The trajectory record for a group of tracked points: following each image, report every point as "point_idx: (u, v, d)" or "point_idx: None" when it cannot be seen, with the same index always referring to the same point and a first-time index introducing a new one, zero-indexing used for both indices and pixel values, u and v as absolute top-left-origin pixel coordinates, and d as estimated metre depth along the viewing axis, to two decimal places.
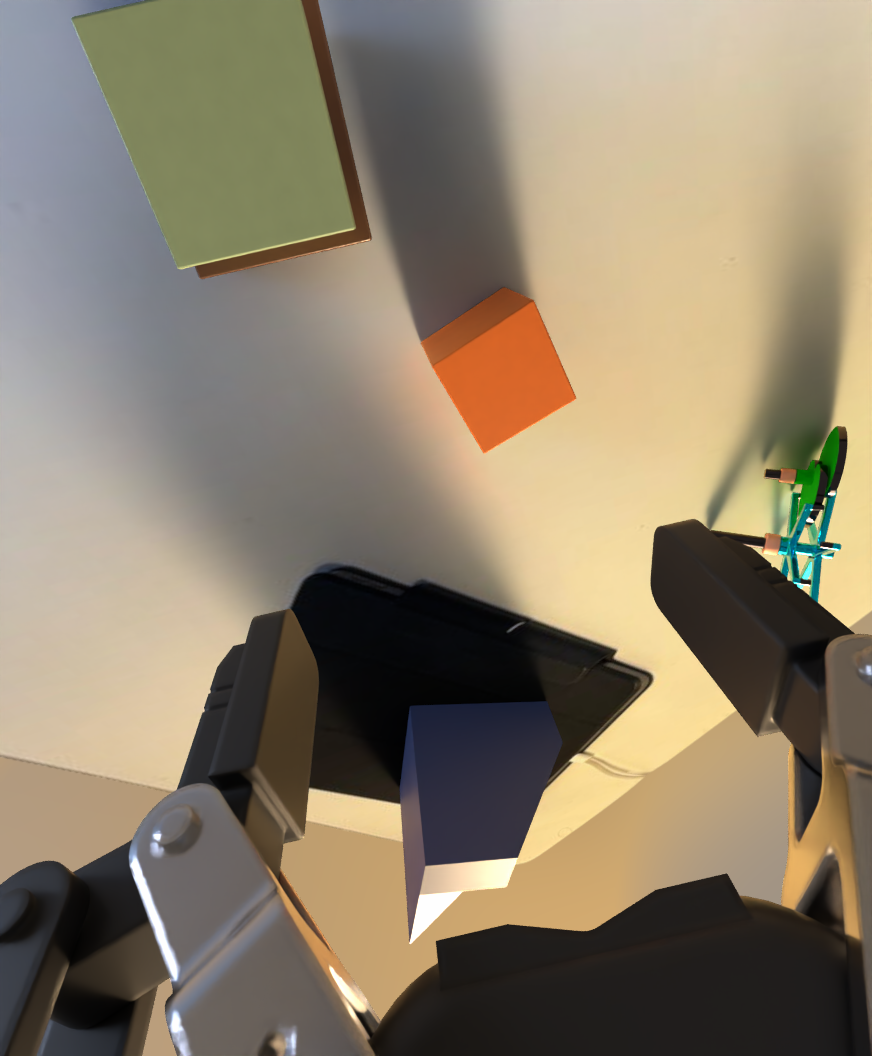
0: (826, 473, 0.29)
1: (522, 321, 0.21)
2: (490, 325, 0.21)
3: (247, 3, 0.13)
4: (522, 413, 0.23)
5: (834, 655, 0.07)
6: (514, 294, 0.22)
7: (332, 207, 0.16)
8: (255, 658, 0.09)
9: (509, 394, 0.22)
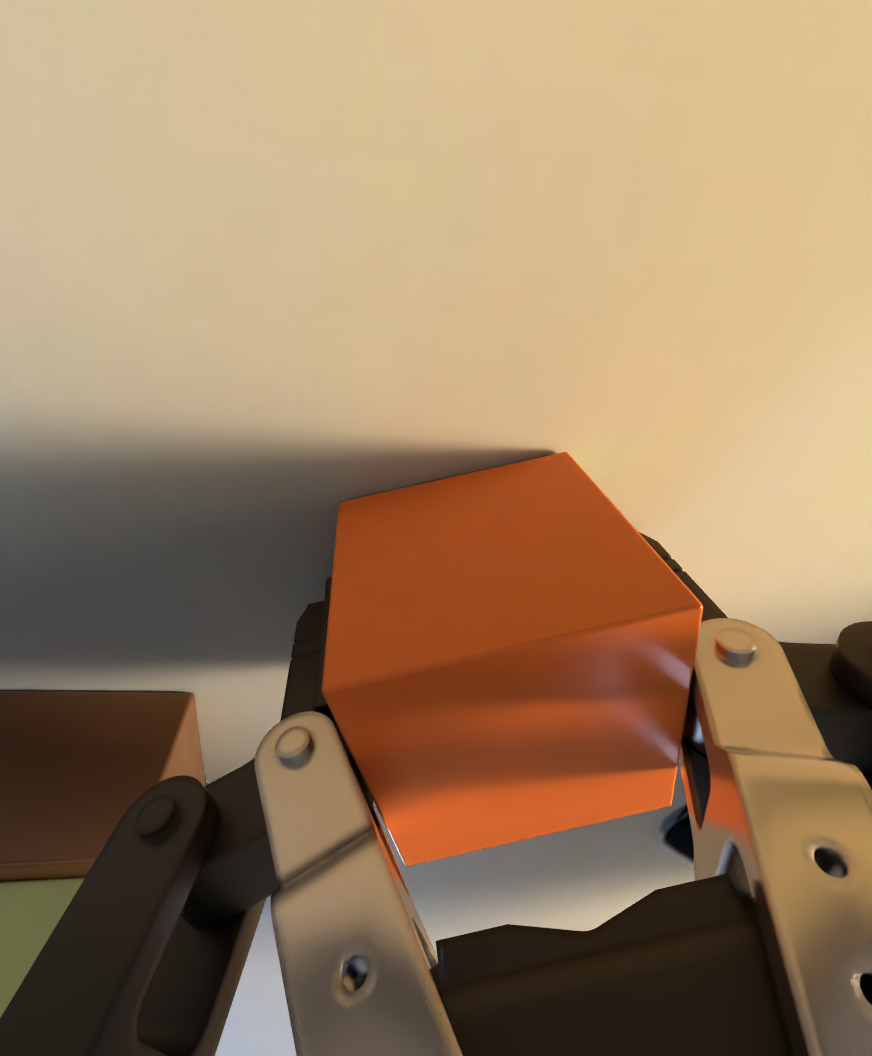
0: None
1: (375, 720, 0.07)
2: (361, 762, 0.07)
3: None
4: (635, 736, 0.07)
5: None
6: None
7: None
8: None
9: (562, 758, 0.08)
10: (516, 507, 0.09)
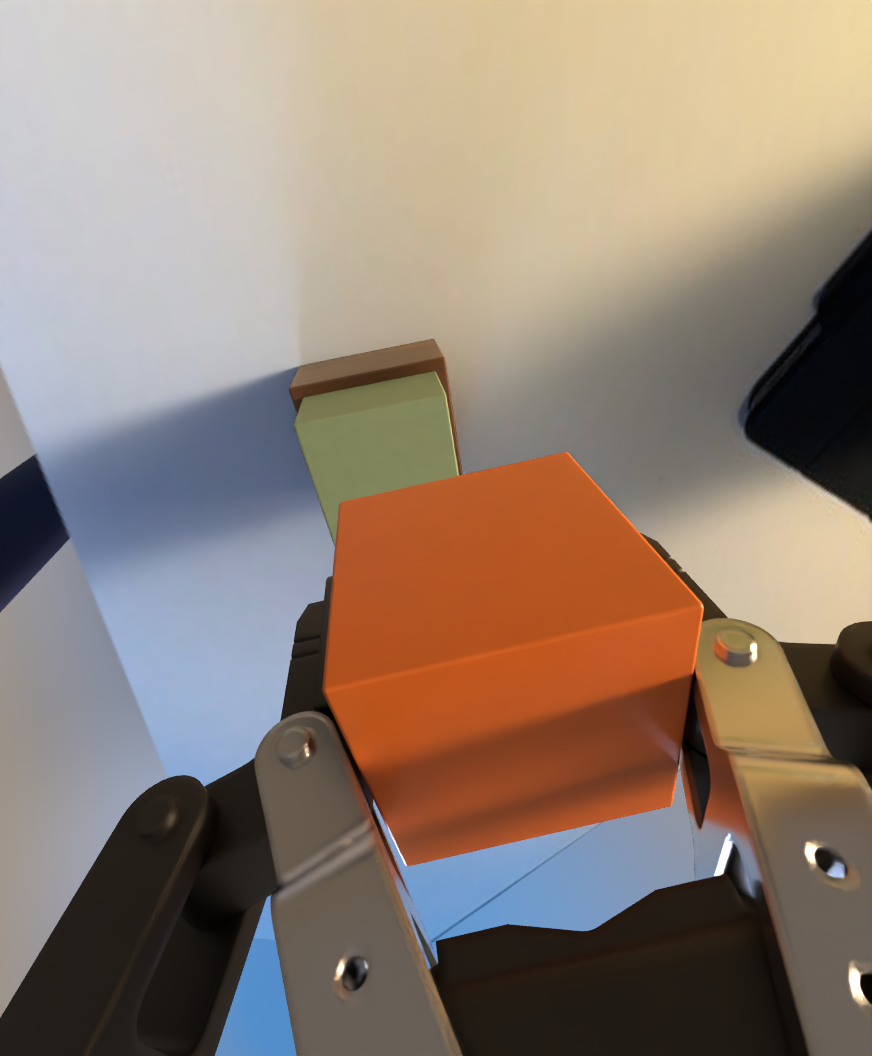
0: None
1: (376, 721, 0.07)
2: (361, 763, 0.07)
3: (315, 455, 0.19)
4: (635, 737, 0.07)
5: None
6: None
7: (430, 411, 0.19)
8: None
9: (563, 758, 0.08)
10: (516, 507, 0.09)
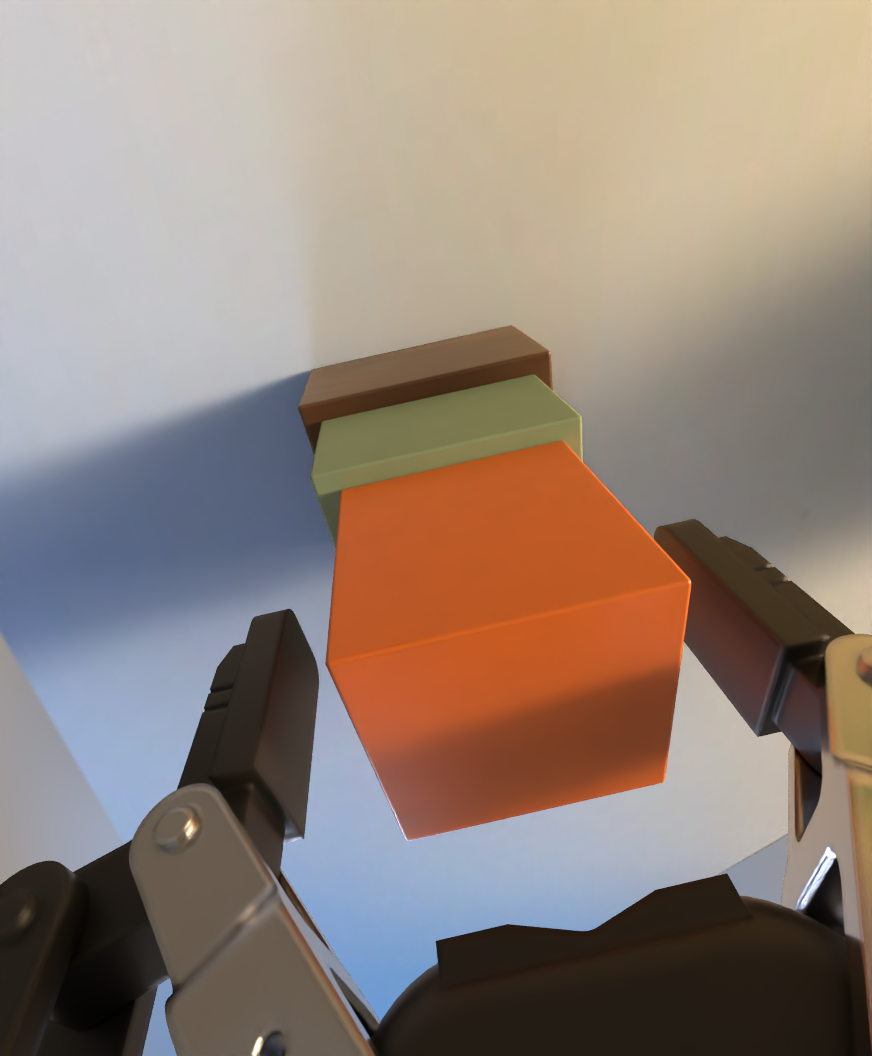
0: None
1: (377, 693, 0.07)
2: (363, 736, 0.08)
3: None
4: (627, 711, 0.08)
5: (834, 655, 0.07)
6: None
7: None
8: (255, 658, 0.09)
9: (558, 732, 0.08)
10: (513, 492, 0.09)
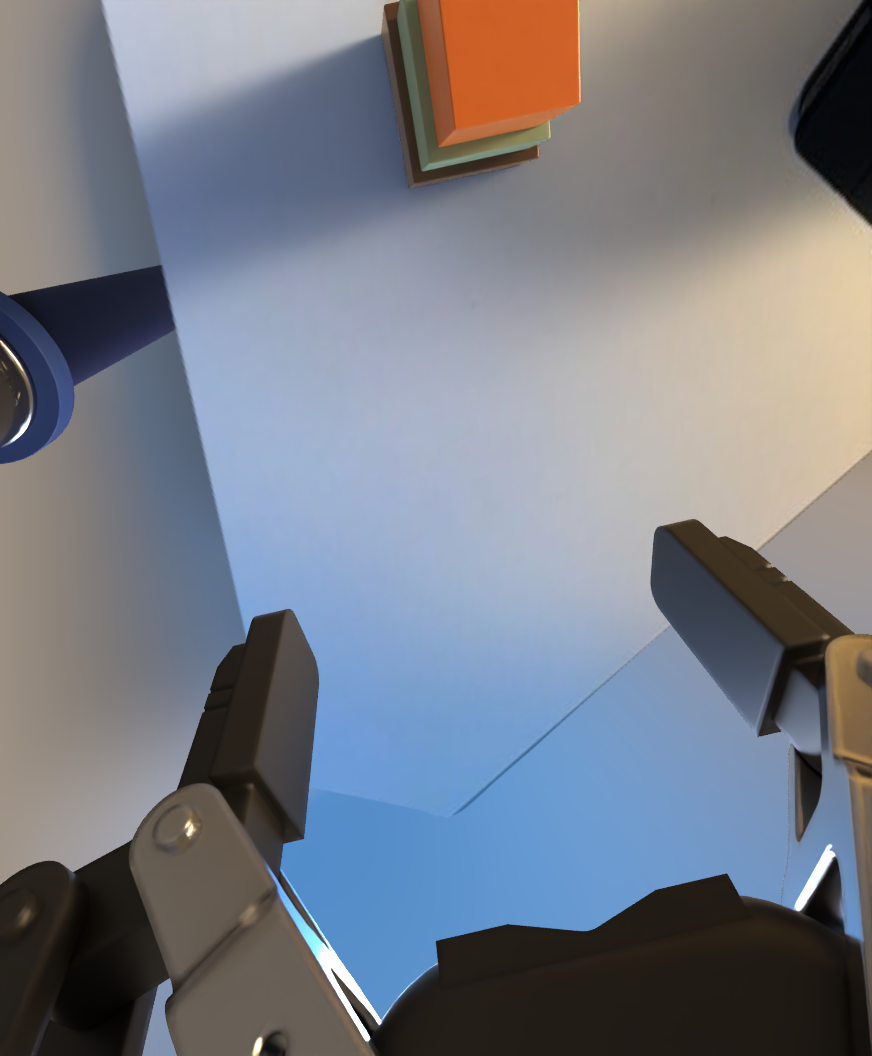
0: None
1: None
2: (440, 26, 0.17)
3: (419, 30, 0.21)
4: (557, 18, 0.17)
5: (834, 655, 0.07)
6: None
7: None
8: (255, 658, 0.09)
9: (526, 30, 0.17)
10: None
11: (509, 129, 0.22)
